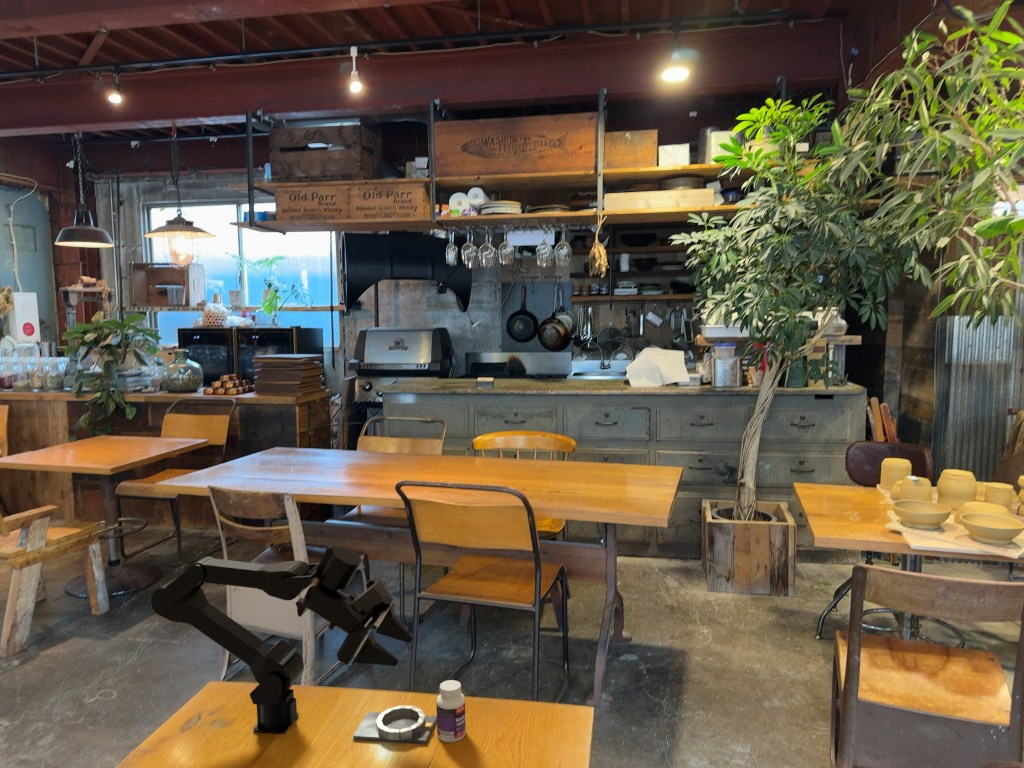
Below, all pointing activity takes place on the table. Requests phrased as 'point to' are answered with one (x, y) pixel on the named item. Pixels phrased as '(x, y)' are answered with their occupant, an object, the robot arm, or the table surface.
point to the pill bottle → (450, 712)
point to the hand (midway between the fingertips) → (404, 651)
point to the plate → (370, 733)
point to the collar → (406, 732)
